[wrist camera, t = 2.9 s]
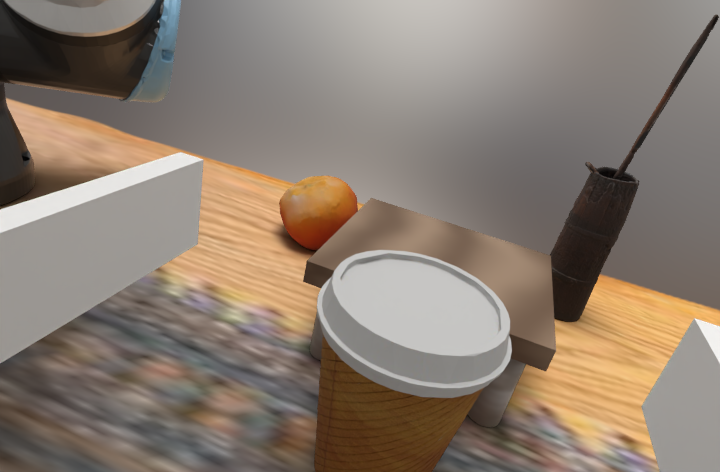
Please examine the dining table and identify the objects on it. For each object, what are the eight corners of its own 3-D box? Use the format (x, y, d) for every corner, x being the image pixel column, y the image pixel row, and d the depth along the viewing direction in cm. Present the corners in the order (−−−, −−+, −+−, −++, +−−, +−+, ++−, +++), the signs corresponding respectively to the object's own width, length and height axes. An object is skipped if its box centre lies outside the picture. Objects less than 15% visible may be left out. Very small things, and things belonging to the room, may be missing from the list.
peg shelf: (289, 356, 35) (307, 260, 32) (353, 273, 48) (371, 198, 44) (510, 446, 32) (555, 350, 29) (517, 332, 44) (550, 255, 41)
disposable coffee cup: (424, 407, 34) (478, 255, 29) (470, 549, 25) (558, 371, 20) (285, 400, 32) (315, 236, 27) (285, 551, 23) (329, 355, 18)
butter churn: (490, 306, 48) (614, -13, 35) (507, 269, 56) (613, -1, 43) (588, 347, 45) (759, 15, 33) (591, 302, 53) (729, 22, 41)
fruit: (379, 248, 50) (354, 182, 46) (308, 280, 50) (276, 216, 46) (359, 214, 57) (335, 154, 53) (296, 242, 57) (267, 183, 53)
